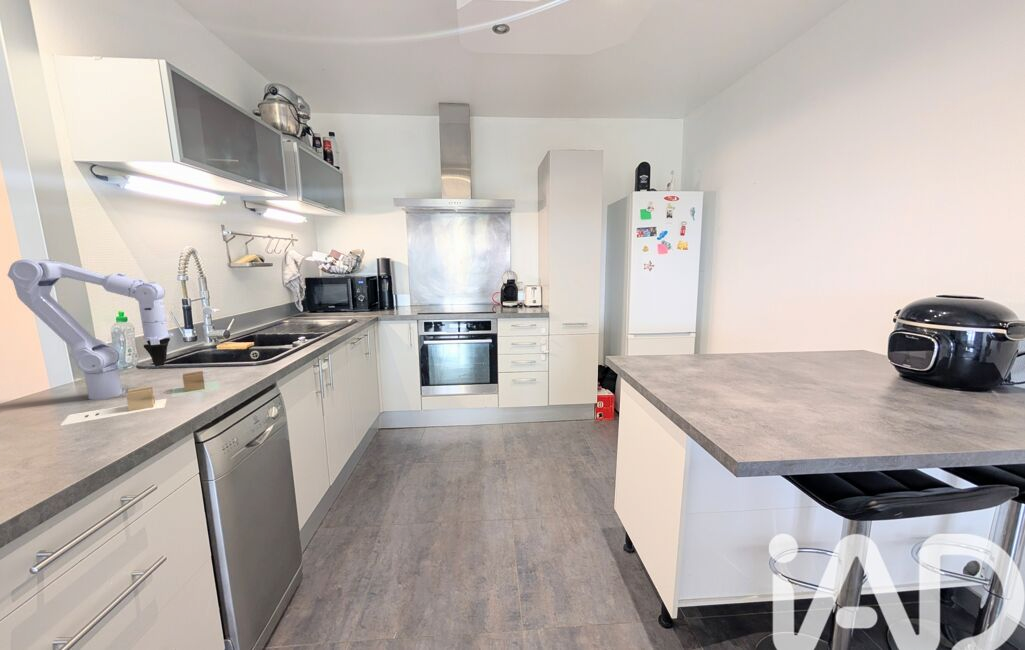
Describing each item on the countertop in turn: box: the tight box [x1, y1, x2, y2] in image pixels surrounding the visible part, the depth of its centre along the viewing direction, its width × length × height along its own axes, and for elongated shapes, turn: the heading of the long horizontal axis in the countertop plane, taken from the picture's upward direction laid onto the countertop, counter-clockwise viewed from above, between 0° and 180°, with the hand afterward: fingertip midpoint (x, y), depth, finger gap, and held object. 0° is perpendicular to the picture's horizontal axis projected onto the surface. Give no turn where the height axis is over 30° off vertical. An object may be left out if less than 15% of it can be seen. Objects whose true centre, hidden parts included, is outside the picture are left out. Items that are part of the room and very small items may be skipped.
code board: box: [60, 398, 167, 427], centre depth 109 cm, size 9×20×1 cm, turn 128°
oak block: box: [125, 385, 156, 411], centre depth 111 cm, size 5×5×5 cm
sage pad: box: [170, 380, 221, 398], centre depth 127 cm, size 12×12×1 cm
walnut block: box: [182, 370, 205, 392], centre depth 127 cm, size 5×5×5 cm
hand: (160, 363), depth 125 cm, fingers open, 7 cm apart
